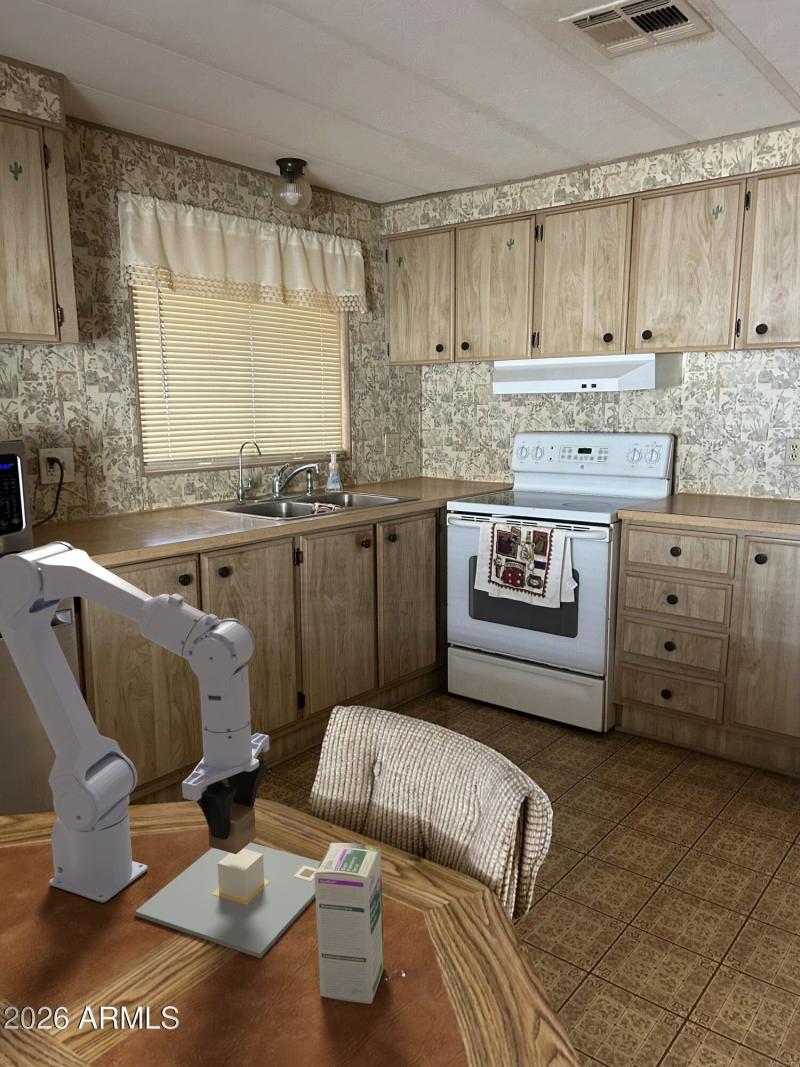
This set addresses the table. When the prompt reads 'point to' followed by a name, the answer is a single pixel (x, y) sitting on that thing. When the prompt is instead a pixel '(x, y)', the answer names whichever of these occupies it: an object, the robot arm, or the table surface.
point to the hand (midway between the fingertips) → (231, 827)
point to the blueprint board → (236, 901)
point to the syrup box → (349, 922)
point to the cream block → (241, 874)
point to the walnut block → (237, 830)
